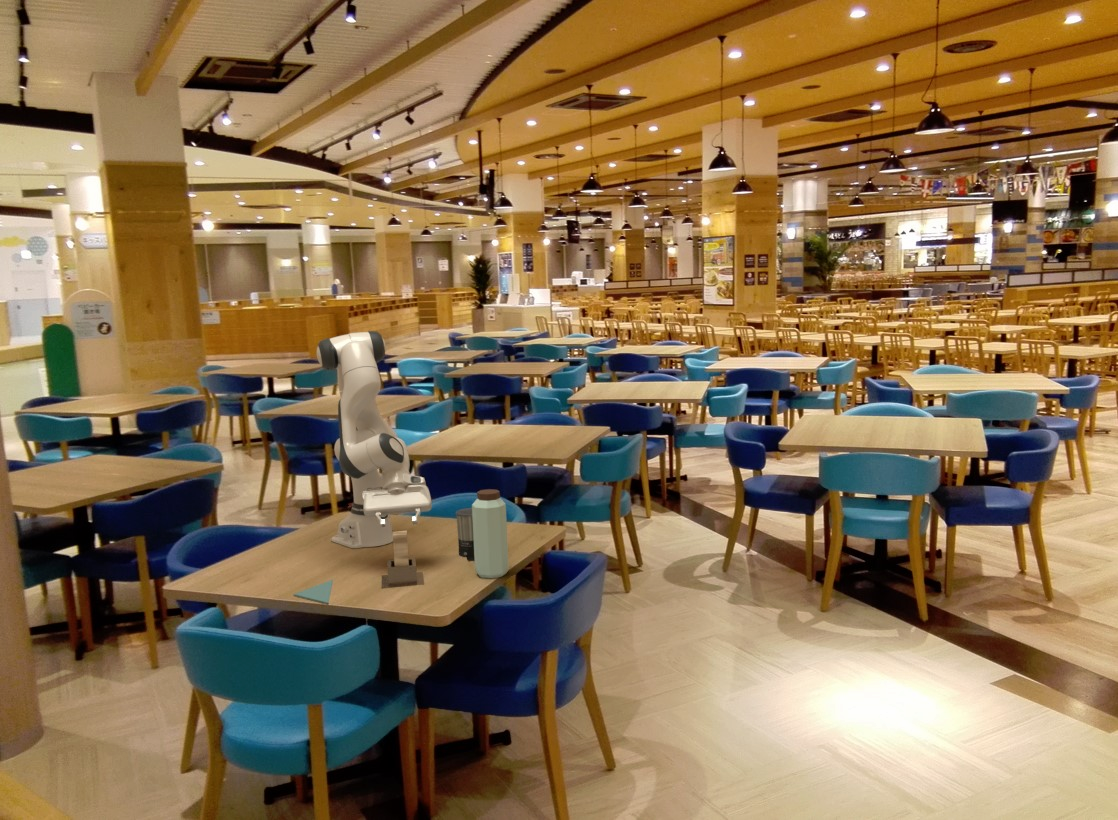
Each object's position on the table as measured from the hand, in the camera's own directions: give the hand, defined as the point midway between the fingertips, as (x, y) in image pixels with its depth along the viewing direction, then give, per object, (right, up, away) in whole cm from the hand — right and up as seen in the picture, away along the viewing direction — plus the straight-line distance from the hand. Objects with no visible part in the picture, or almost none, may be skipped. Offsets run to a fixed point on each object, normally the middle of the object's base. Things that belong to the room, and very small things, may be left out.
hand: (398, 524), depth 257 cm
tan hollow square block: (+2, -16, -5) cm, 17 cm away
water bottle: (+28, -15, +1) cm, 31 cm away
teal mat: (-16, -18, -10) cm, 26 cm away
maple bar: (+2, -15, -5) cm, 16 cm away
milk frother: (+23, -12, +22) cm, 34 cm away
